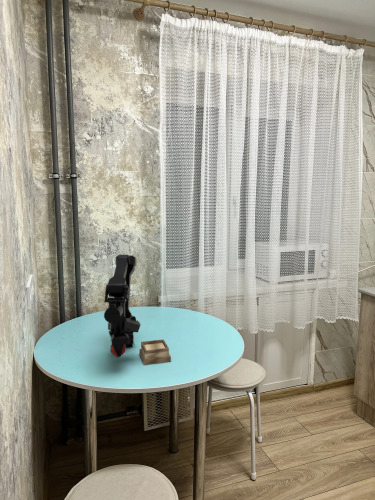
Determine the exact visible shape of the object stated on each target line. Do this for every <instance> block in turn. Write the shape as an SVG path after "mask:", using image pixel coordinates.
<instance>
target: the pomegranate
mask: <svg viewBox="0 0 375 500" xmlns="http://www.w3.org/2000/svg"><path fill="white" fill-rule="evenodd" d="M126 349H127V348H126V345H125V344H124V345H123V349H122V353H121V356H123V355H124V354H125V353H126ZM109 350H110V353H111V354H112V355H113V356H115V357H116V358H120V357H118V356H117V354H116V352H115V350H114V348H113V345H112V344H110V348H109Z"/></svg>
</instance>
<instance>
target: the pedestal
mask: <svg viewBox="0 0 375 500" xmlns="http://www.w3.org/2000/svg"><path fill="white" fill-rule="evenodd" d="M138 352H139V356H140V358H141V361H142V364H143V366H144V365H154V364H155V365H156V364H163V363H169V362H170V363H171V362H172V356H171V355H170V348H169V346H168V344H167V343H166V341H165V339H164V338H163V339H154V340H145V341H140V348H139V351H138Z"/></svg>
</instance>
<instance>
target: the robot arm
mask: <svg viewBox="0 0 375 500" xmlns="http://www.w3.org/2000/svg"><path fill="white" fill-rule="evenodd" d="M136 267H137V257H136V256H134V255H130V254H117V255H116V256H115V269H114V273H113V275H112V277H111V278H109V279H108V283H107V284H106V286H105V292H104V293H105V294H104V303H108V306H107V308H106V309H105V311H104V313H103V319H104V320H105V321H106V322H107V330H108V334H109V337H110V342H111V344H112V345H113V348H114V350H115V352H116V354H117V356H118V357H119V358H120V357H121V353H122V349H123V345H124V344H125V345H126V349H129V348H133V347H134V338H135V337H134V335H135V334H134V333H136V334H137V333H139V331H140V328H141V325H142V324H141V322H140V321H139V320H137V318H136V316H135V315H133V314H132V312H131V310H130V300H131V299H130V297H131V281H132V275H133V274H134V272H135V271H136ZM111 344H110V345H111Z"/></svg>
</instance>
